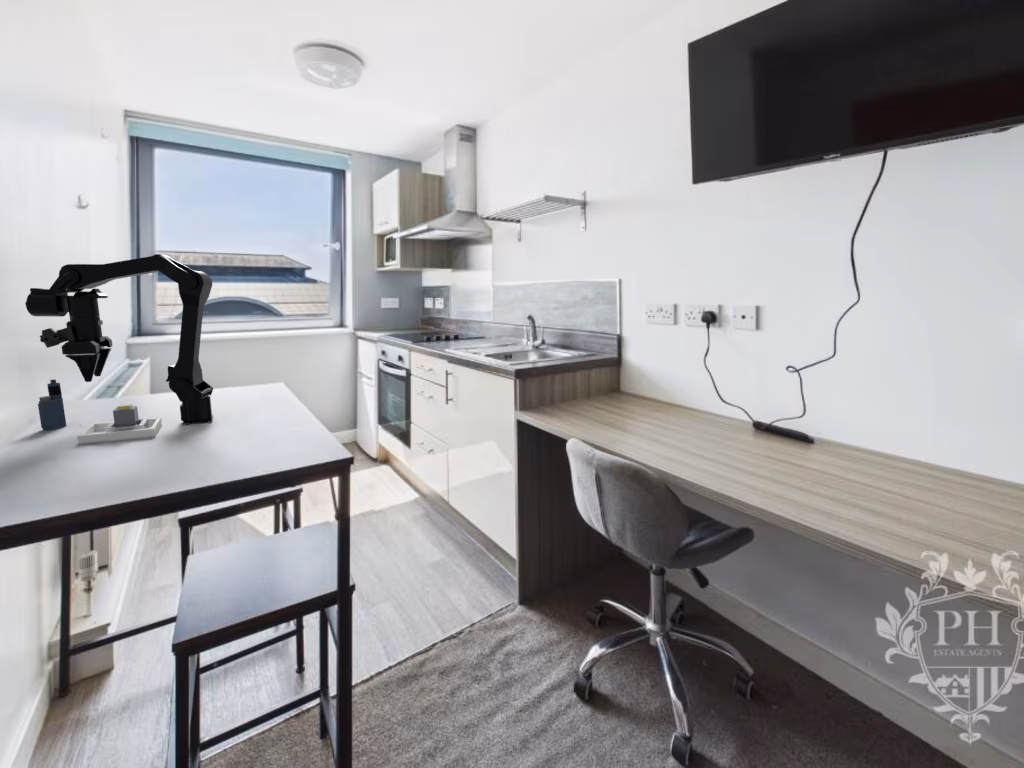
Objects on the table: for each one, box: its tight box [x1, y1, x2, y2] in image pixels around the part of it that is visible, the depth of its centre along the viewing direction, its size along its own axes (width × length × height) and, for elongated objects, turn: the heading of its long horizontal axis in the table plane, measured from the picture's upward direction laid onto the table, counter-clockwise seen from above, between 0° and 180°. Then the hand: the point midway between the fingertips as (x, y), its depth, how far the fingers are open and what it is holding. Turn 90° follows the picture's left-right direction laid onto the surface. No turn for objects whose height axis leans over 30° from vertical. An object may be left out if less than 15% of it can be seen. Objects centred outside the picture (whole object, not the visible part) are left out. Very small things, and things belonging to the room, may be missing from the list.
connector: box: [112, 403, 140, 427], centre depth 119 cm, size 4×4×7 cm
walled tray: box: [77, 417, 163, 445], centre depth 119 cm, size 14×12×2 cm
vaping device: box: [37, 379, 67, 431], centre depth 122 cm, size 3×5×12 cm, turn 174°
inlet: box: [105, 418, 149, 433], centre depth 119 cm, size 7×7×2 cm
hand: (93, 378), depth 124 cm, fingers open, 9 cm apart
